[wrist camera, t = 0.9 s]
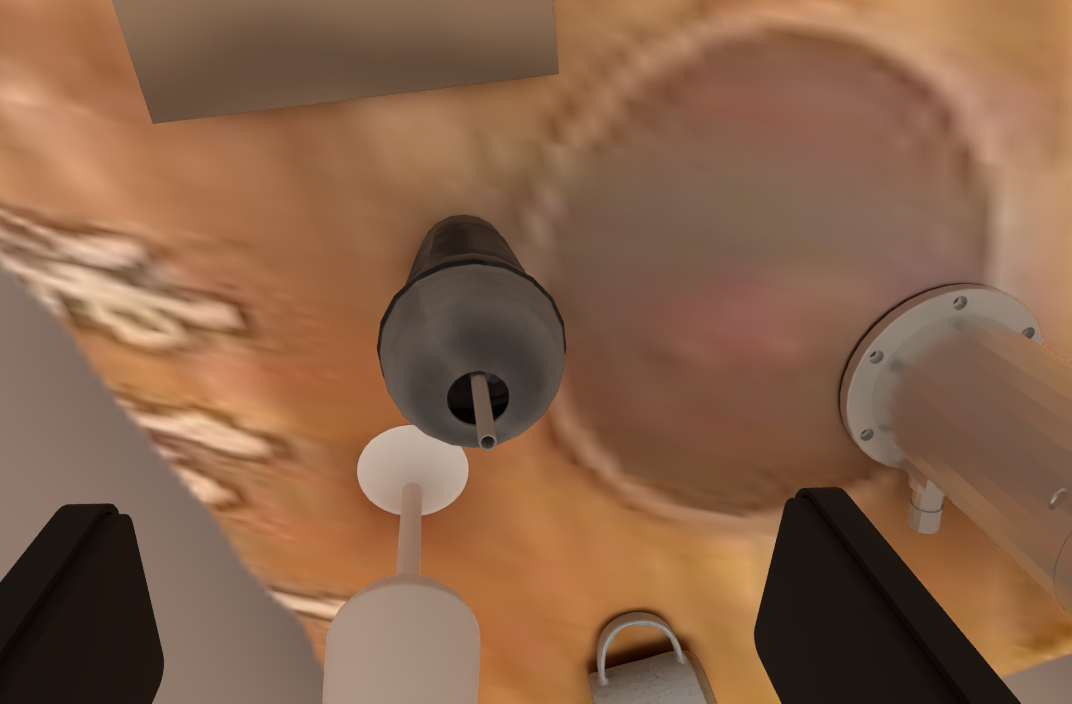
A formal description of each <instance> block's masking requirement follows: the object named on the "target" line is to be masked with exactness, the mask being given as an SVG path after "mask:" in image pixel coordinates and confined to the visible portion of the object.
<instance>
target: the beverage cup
mask: <svg viewBox="0 0 1072 704" xmlns="http://www.w3.org/2000/svg"><path fill="white" fill-rule="evenodd" d="M377 352H378V356H379V361H380V365H381V370H382V374H383V377H384V379H385V383H386V387H387V390H388V392H389V394H390V395H391V397H392V399H393V400H394V402H395V403H396V405H397V407H398V408H399V410H400V411H401V413H402V414H403V416H404V417H405V418H406V419H407V420H408V421H410V422H411V423H412V424H413V425H415V426H416V427H417V428H418V429H419V430H421V431H422V432H423V433H424V434H426V435H428V436H430V437H433V438H435V439H438V440H440V441H442V442H445V443H447V444H450V445H455V446H463V447H472V448H477V447H481V449H484V450H486V451H489V450H492V449H494V448H495V446H496V445H497V444H500V443H502V442H505V441H507V440H509V439H511V438H514V437H516V436H518V435H520V434H522V433H523V432H524V431H525V430H527V429H528V428H529V427H530V426H531V425H533V424H534V423H535V422H536V421H537V420H538V419H540V418H541V417H542V416H543V414H544V413H545V411H546V410H547V408H548V406H549V405H550V403H551V402H552V400H553V399H554V397H555V395H556V394H557V392H558V389H559V385H560V381H561V377H562V373H563V369H564V364H565V352H566V341H565V330H564V322H563V319H562V317H561V315H560V313H559V311H558V309H557V307H556V304H555V302H554V300H553V298H552V297H551V296H550V295H549V294H548V293H547V292H546V291H545V290H544V289H543V287H542V286H541V285H540V284H539V283H538V282H537V281H536V280H535V279H534V278H533V277H531V276H529V275H527V274H526V273H525V271H524V270H523V268H522V266H521V265H520V263H519V262H518V260H517V258H516V257H515V255H514V254H513V252H512V250H511V249H510V247H509V246H508V244H507V242H506V241H505V239H504V238H503V237H502V236H501V235H500V234H499V233H498V231H497V230H496V229H495V228H494V227H493V226H492V225H491V224H490V223H488V222H486V221H484V220H482V219H480V218H478V217H474V216H468V215H460V216H452V217H449V218H447V219H445V220H443V221H441V222H439V223H437V224H436V225H435V226H434V227H433V228H432V229H431V230H430V231H429V232H428V234H427V236H426V238H425V239H424V241H423V243H422V245H421V247H420V249H419V251H418V253H417V256H416V259H415V261H414V264H413V266H412V269H411V272H410V274H409V277H408V280H407V282H406V285H405V286H404V287H403V288H402V289H401V290H400V291H399V292H398V293H397V294H396V295H395V296H394V297H393V299H392V301H391V303H390V305H389V307H388V309H387V310H386V312H385V314H384V316H383V318H382V320H381V323H380V330H379V337H378V345H377Z"/></svg>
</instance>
